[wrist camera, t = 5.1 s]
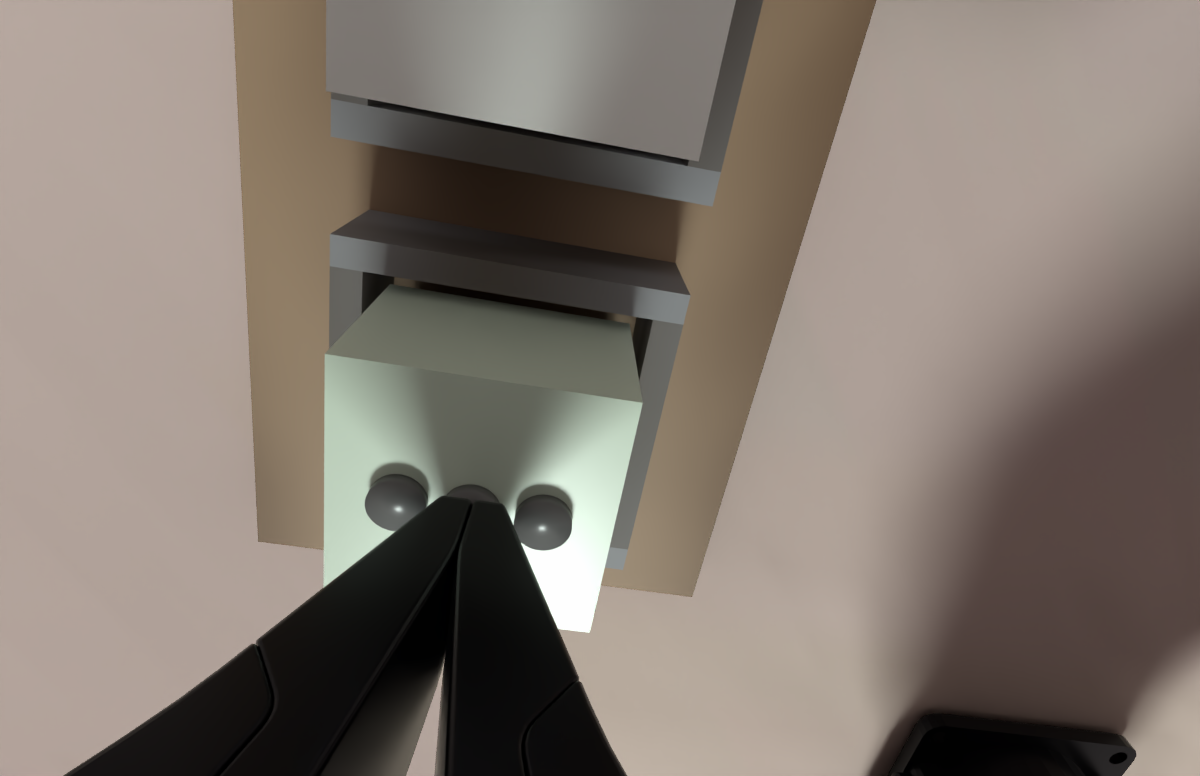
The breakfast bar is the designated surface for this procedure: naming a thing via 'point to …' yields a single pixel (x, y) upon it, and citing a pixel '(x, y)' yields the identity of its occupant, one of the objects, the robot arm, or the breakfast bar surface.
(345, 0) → the button white
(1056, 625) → the breakfast bar surface
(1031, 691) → the breakfast bar surface
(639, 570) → the button board
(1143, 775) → the breakfast bar surface
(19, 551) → the breakfast bar surface
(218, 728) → the robot arm
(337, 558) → the button sage
